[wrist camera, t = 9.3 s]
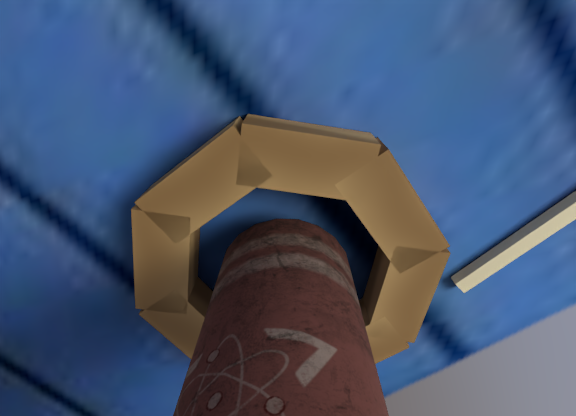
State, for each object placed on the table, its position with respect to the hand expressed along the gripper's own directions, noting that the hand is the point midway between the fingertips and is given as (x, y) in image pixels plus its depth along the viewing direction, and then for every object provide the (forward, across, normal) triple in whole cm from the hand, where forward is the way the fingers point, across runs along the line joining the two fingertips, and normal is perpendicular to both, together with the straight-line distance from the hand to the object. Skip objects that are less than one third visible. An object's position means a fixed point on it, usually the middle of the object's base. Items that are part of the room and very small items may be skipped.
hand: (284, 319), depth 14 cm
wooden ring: (+4, 0, 0) cm, 4 cm away
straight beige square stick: (+4, +12, +4) cm, 13 cm away
